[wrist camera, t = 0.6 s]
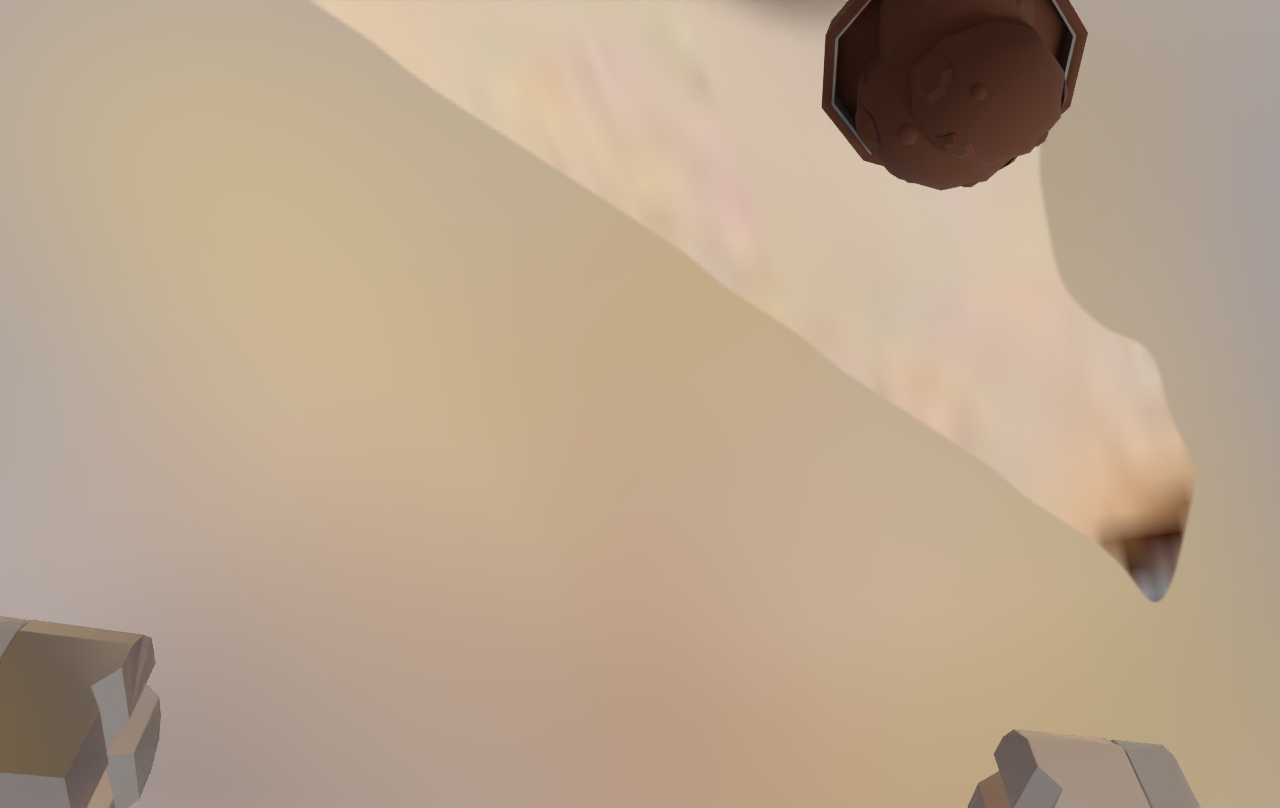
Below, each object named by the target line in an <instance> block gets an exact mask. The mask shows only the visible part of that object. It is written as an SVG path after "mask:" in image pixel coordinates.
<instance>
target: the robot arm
mask: <svg viewBox="0 0 1280 808" xmlns="http://www.w3.org/2000/svg"><path fill="white" fill-rule="evenodd" d="M154 665H155V657H154V650H153V644H152V638H151V637H148V636H145V635H141V634H134V633H126V632H119V631H112V630H104V629H97V628H90V627H82V626H75V625H68V624H60V623H53V622H45V621H38V620H26V619H18V618H10V617H2V616H0V808H128V807H129V806H131V805H132V804H133V803H135V802H136V801H138V800H139V799H140V796H141V794H142V791H143V789H144V786H145V784H146V782H147V779H148V777H149V774H150V772H151V769H152V765H153V761H154V757H155V752H156V749H157V745H158V741H159V732H160V719H161V712H160V700H159V696H158V695H157V694H156V693H155V692H154V691H153V690H152V689H151V688H150V687H149V686H148V685H147V684H146V683H147V680H148V678H149V676H150V674H151V672H152V669H153V668H154ZM994 756H995V759H996V762H997V765H998V768H999V771H998V772H997V773H995V774H993V775H991V776H990V777H988V778H986V779H985V780H983V781H981V782H980V783H978V785H977V787H976V790H975V792H974V794H973V796H972V798H971V800H970V802H969V805H968V808H1200V806H1199V804H1198V802H1197V800H1196V798H1195V796H1194V794H1193V792H1192V790H1191V788H1190V786H1189V784H1188V782H1187V780H1186V778H1185V776H1184V774H1183V772H1182V770H1181V769H1180V766H1179V764H1178V762H1177V760H1176V759H1175V757H1174V755H1173V754H1172V753H1171V752H1170V751H1169V750H1167V749H1166V748H1165V747H1164V746H1163V745H1157V744H1148V743H1139V742H1129V741H1119V740H1108V739H1105V738H1095V737H1085V736H1075V735H1065V734H1055V733H1045V732H1035V731H1024V730H1012V731H1011V732H1009V733H1008V734H1007V735H1005V736H1004V737H1003V738H1002V740H1001V742H1000V743H999V745H998V747H997V749H996V751H995V753H994Z"/></svg>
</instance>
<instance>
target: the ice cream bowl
mask: <svg viewBox="0 0 1280 808" xmlns="http://www.w3.org/2000/svg"><path fill="white" fill-rule="evenodd" d="M1087 33H1088V32H1087V31H1086V29H1085V27H1084V25H1083V24H1082V22H1081V20H1080V18H1079V17H1078V15H1077V13H1076V12H1075V10H1074V8H1073V6H1072V5H1071V3H1070V1H1069V0H849V1H848V2H847V3H846V4H845V5H844V7H843V8H842V9H841V10H840V11H839V12H838V14H837V15H836V16H835V17H834V18H833V20H832V21H831V24H830V26H829V29H828V31H827V34H826V39H825V57H824V76H823V94H822V108H823V110H824V111H825V112H826V114H827V115H828V116H829V117H830V119H831V120H832V121H833V122H834V124H835V125H836V126H837V127H838V129H839V130H840V131H841V133H842V134H843V135H844V136H845V138H846V139H847V140H848V141H849V143H850V144H851V145H852V147H853V148H854V149H855V150H856V152H857V153H858V154H859V155H860V157H861V158H862V159H863V160H864V161H867V162H871V163H874V164H878V165H882V166H884V167H885V168H886V169H887V170H888V172H889V173H891V174H892V175H894V176H895V177H897V178H899V179H902V180H905V181H907V182H908V183H916V184H920V185H924V186H927V187H931V188H934V189H938V190H945V189H950V188H955V187H959V186H963V187H972V186H974V185H975V184H977V183H978V182H983V181H987V180H988V179H989V178H990V177H991V176H992V175H993V174H995V173H996V172H997V171H998V170H1000V169H1002V168H1004V167H1005V166H1007V165H1009V164H1011V163H1012V162H1014V160H1015V159H1016V158H1017V156H1020V155H1023V154H1027V153H1030V152H1031V151H1032V149H1033V148H1034V147H1036V146H1039V145H1040V144H1042V143H1043V142H1045V140H1046V138H1047V135H1048V131H1049V130H1050V129H1051V128H1052V127H1053V126H1054V124H1055V123H1056V122H1057V121H1058V120H1059V119H1060V117H1061V114H1062V113H1064V112H1065V111H1066V110H1067V109H1068V108H1069V107H1070V105H1071V101H1072V96H1073V92H1074V88H1075V84H1076V79H1077V76H1078V72H1079V67H1080V63H1081V59H1082V55H1083V51H1084V47H1085V42H1086V38H1087Z"/></svg>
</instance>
